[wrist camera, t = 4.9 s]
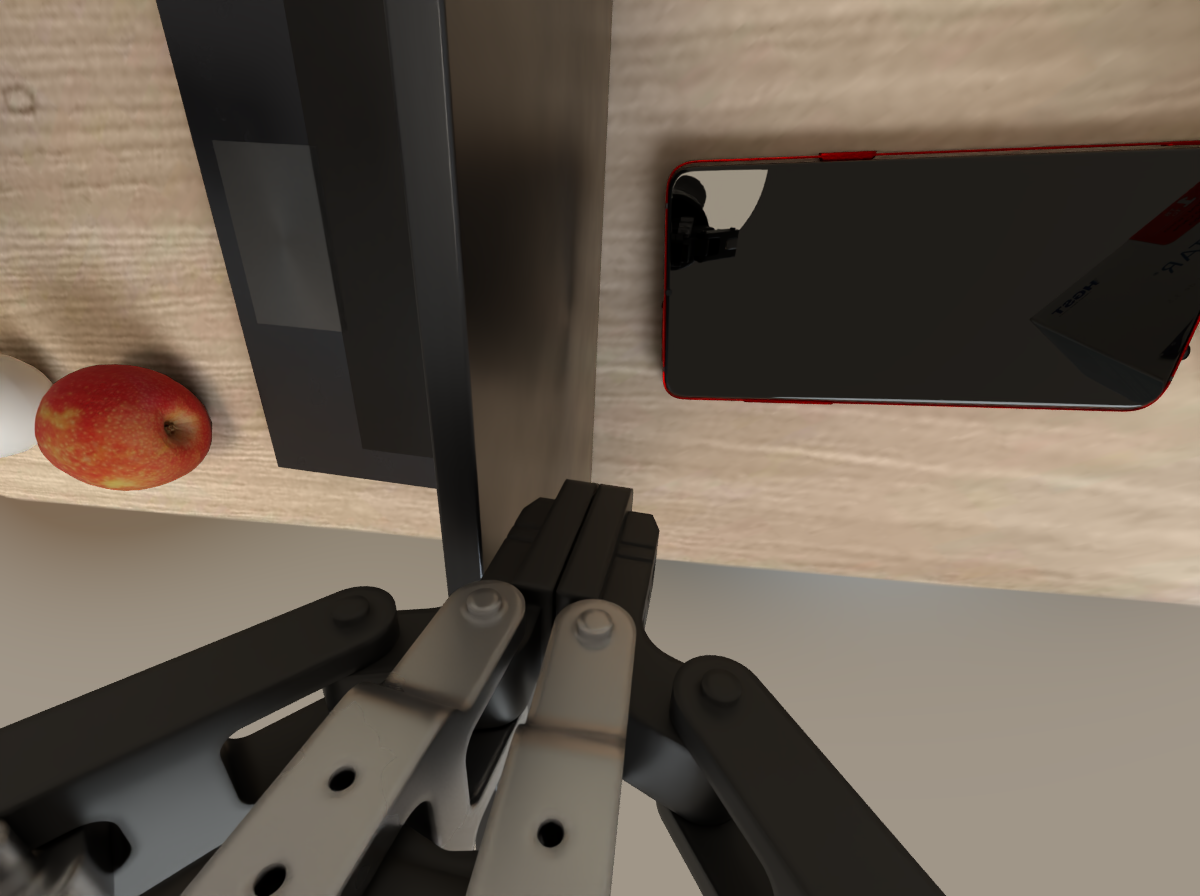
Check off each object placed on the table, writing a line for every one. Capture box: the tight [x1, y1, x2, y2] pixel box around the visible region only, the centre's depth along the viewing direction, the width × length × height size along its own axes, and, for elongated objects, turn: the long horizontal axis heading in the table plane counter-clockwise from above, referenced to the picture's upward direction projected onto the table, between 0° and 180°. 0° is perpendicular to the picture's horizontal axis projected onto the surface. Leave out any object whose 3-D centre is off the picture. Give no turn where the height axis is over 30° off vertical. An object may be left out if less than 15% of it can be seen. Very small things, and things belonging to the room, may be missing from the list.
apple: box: [35, 364, 212, 491], centre depth 36 cm, size 8×8×8 cm
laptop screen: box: [383, 0, 613, 850], centre depth 19 cm, size 21×30×1 cm
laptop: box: [156, 0, 437, 489], centre depth 31 cm, size 21×30×2 cm
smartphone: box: [662, 140, 1200, 412], centre depth 27 cm, size 12×2×25 cm
